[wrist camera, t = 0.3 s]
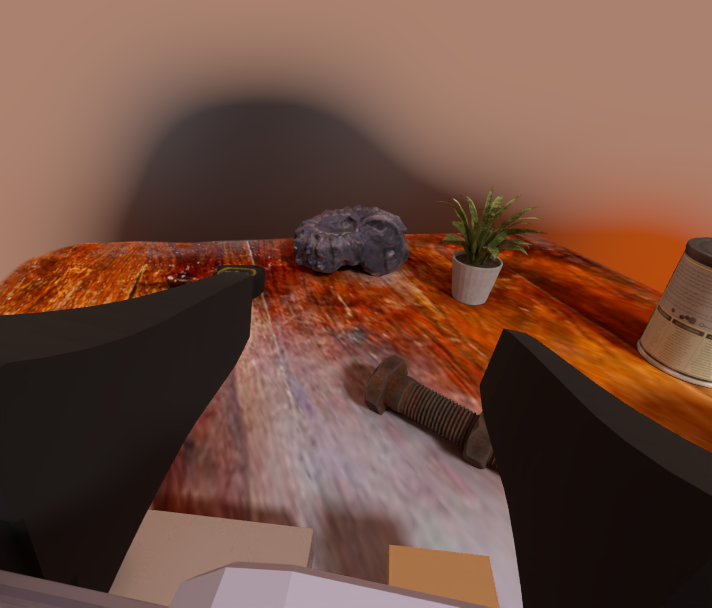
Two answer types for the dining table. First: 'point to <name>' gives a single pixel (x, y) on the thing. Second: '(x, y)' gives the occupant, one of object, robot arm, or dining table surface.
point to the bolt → (429, 410)
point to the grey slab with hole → (201, 551)
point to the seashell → (352, 241)
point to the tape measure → (252, 270)
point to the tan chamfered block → (442, 574)
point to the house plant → (481, 249)
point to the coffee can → (684, 319)
